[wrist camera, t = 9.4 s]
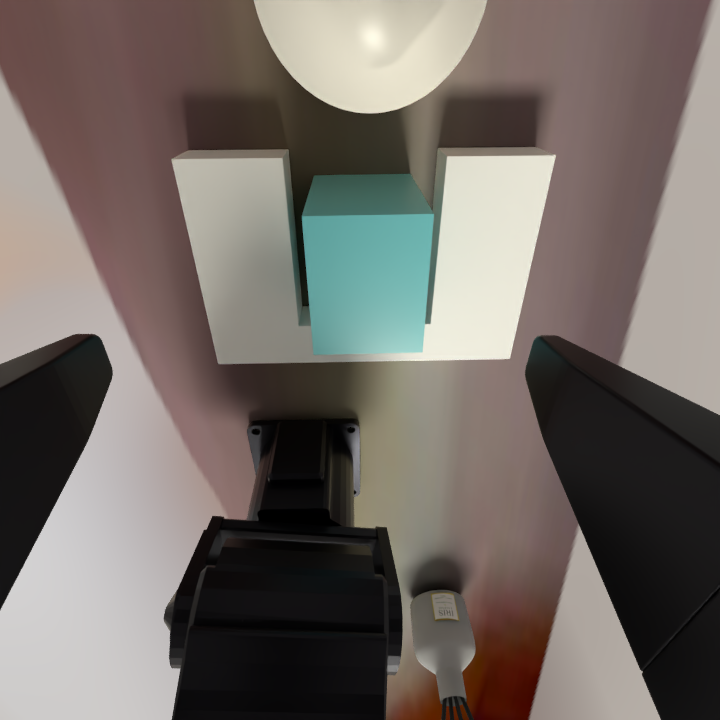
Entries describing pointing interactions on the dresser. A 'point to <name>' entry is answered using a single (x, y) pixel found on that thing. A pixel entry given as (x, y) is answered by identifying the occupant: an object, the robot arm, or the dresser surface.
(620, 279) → the dresser surface
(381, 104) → the bobbin
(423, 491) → the dresser surface
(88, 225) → the dresser surface
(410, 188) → the teal rectangular block
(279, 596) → the robot arm
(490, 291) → the notched board
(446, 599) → the reed diffuser
